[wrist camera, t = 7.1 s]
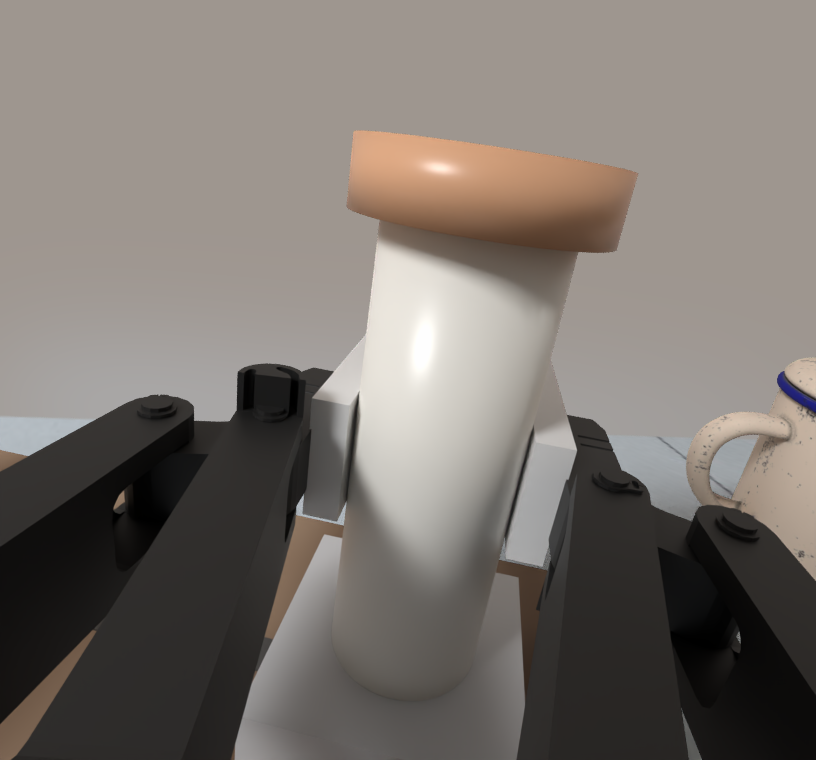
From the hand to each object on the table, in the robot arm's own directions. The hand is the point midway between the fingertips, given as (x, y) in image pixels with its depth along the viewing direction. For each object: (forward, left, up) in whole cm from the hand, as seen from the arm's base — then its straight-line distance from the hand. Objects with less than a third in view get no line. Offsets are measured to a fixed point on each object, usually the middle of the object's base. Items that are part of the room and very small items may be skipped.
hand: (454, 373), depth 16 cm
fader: (0, +5, -7) cm, 9 cm away
